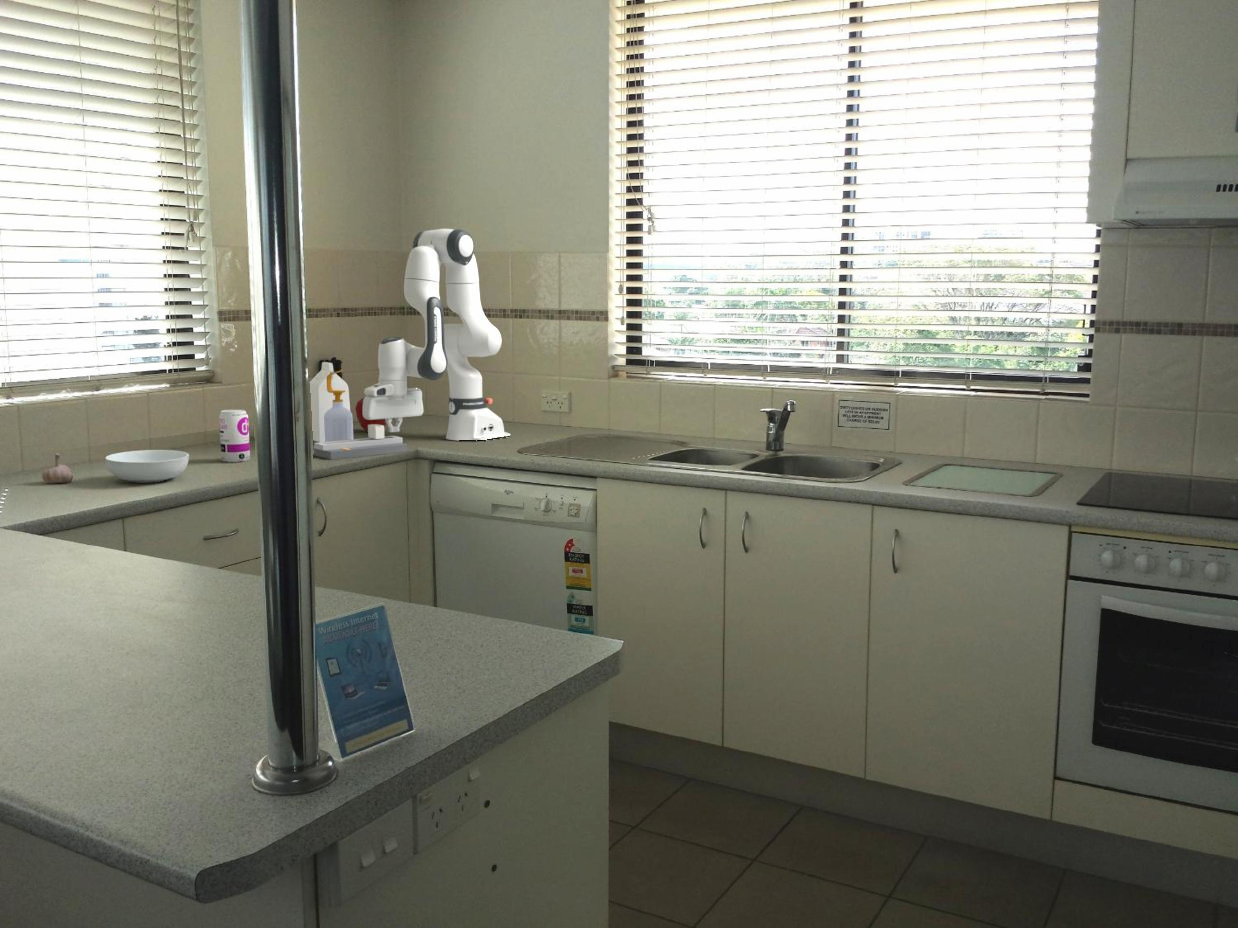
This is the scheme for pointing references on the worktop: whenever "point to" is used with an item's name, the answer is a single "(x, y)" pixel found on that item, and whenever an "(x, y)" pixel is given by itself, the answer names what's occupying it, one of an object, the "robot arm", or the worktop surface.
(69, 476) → the garlic bulb
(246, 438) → the supplement can
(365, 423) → the apple
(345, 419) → the soap bottle
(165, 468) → the serving bowl
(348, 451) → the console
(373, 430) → the white small block
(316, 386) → the milk
